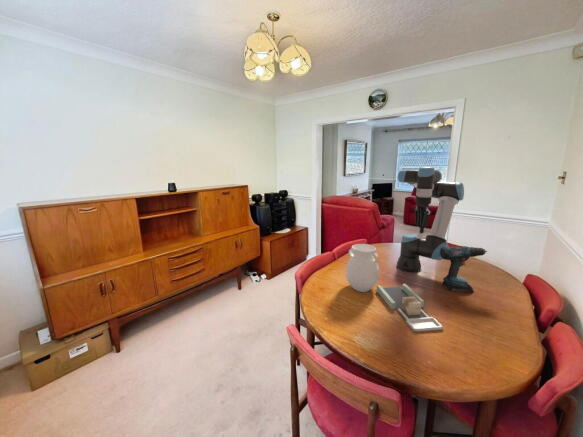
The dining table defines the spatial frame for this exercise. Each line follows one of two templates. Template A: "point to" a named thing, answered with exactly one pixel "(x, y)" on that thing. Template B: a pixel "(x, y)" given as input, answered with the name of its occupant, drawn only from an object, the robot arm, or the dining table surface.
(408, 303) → the block
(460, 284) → the power drill
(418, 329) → the tray
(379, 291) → the channel
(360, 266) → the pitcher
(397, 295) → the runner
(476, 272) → the dining table surface
